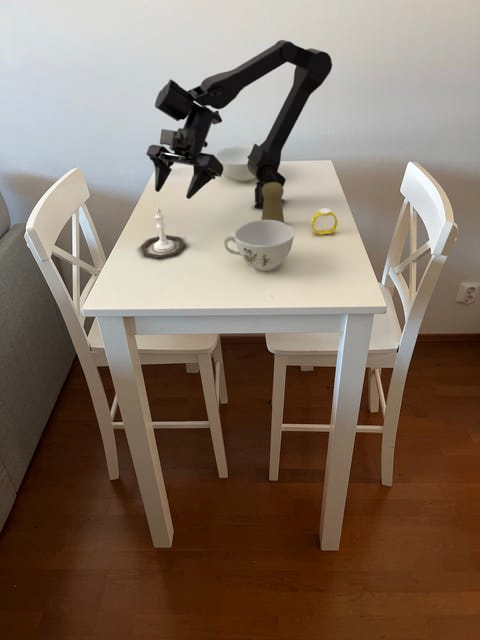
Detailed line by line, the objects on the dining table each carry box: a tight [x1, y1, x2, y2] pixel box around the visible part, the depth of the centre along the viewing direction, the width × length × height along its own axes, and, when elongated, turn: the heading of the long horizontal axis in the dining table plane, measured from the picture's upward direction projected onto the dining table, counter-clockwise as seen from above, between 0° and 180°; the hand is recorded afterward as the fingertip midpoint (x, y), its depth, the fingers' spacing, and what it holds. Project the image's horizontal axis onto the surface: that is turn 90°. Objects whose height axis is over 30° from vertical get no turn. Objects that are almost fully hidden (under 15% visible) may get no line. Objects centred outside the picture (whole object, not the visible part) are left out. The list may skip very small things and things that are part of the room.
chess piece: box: [153, 206, 176, 253], centre depth 108 cm, size 5×5×10 cm
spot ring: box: [139, 234, 186, 260], centre depth 111 cm, size 10×10×1 cm
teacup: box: [223, 219, 295, 272], centre depth 101 cm, size 15×12×8 cm
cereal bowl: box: [214, 145, 256, 183], centre depth 142 cm, size 17×17×7 cm
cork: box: [261, 182, 285, 223], centre depth 114 cm, size 6×6×11 cm
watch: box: [311, 207, 339, 236], centre depth 111 cm, size 6×3×6 cm, turn 91°
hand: (171, 194), depth 108 cm, fingers open, 9 cm apart
